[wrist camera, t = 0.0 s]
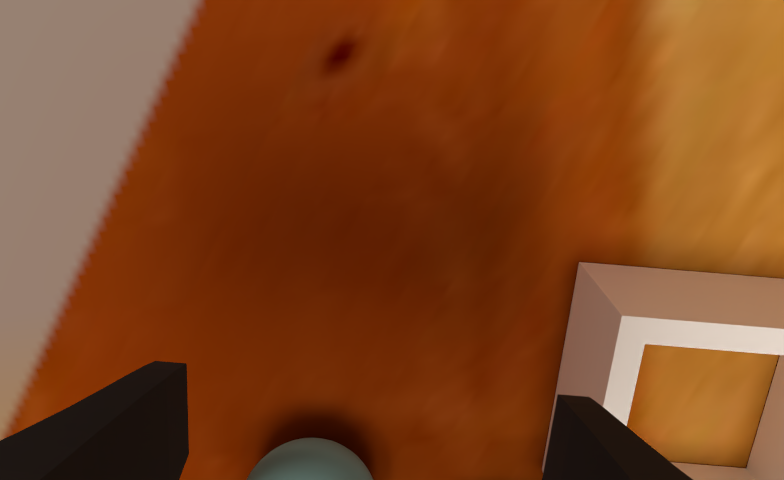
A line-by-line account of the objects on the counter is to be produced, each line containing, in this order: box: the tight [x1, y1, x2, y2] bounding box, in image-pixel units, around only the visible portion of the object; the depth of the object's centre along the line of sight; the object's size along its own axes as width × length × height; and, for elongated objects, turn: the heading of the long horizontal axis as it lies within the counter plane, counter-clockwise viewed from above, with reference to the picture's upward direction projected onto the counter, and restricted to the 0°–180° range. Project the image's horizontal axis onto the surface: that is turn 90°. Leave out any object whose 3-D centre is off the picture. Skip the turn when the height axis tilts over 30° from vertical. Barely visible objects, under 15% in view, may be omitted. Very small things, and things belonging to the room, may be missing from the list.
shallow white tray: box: [542, 262, 784, 480], centre depth 21 cm, size 9×9×4 cm
